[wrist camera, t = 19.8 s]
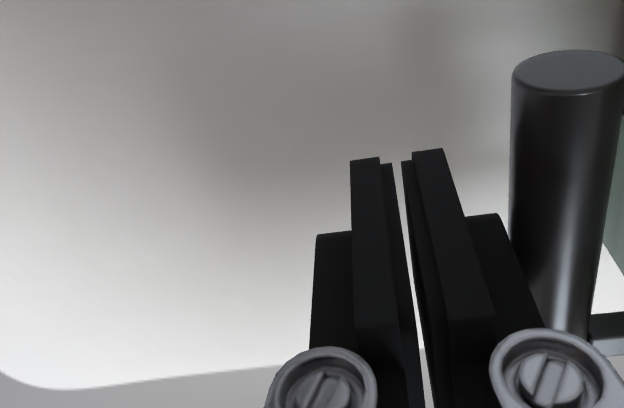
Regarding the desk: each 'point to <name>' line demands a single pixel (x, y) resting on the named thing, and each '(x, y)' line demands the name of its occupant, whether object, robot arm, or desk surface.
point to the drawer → (568, 186)
